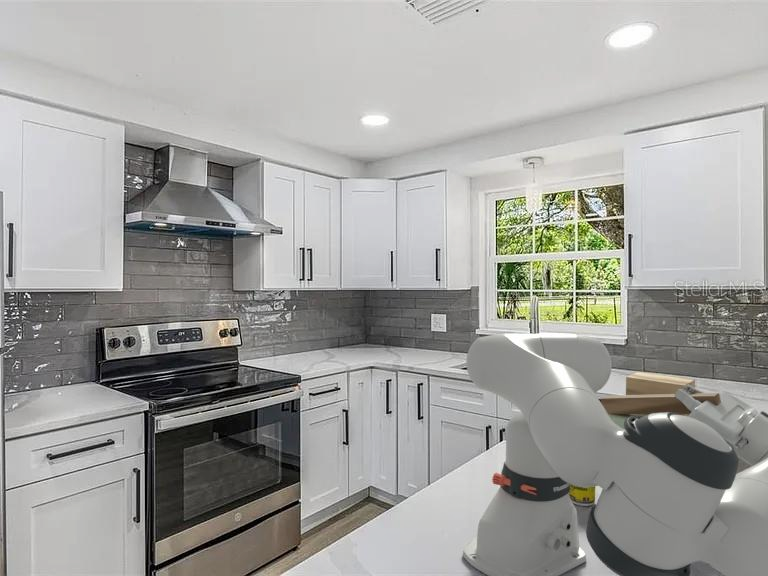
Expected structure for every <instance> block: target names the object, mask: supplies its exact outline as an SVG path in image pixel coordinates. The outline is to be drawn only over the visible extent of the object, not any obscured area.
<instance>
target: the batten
mask: <svg viewBox="0 0 768 576" xmlns="http://www.w3.org/2000/svg"><path fill="white" fill-rule="evenodd" d="M689 395H690V396H691V397H692V398H694V399H695V400H698V401H700V402H701V403H703V402H705V401H710V402H712V403H713V404H715V405H716V406H718V405H719V404H720V403H721V400H720V395H719V393H718V392H705V393H690V394H689ZM600 402H601V404H602V405H603V407H604V408H605V410H606V412H607V413H608V415H611V414H652V413H663V412H673V413H678V414H691V412H692V411H690V410H689V409H688V408H687V407H686V406H685V405H684V404H683V403H682V401H680V400H679V399H677V398H676V397H675V394H653V395H626V394H622V395H621V394H619V395H616V394H615V395H604V396H603V397H601V398H600Z"/></svg>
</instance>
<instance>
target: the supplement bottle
mask: <svg viewBox="0 0 768 576" xmlns="http://www.w3.org/2000/svg"><path fill="white" fill-rule="evenodd" d="M569 496H570V499H571V501H572V503H573V505H577V506H581V507H590V506H594V505H595V502H596V486H594V487H578V486H574V485H571V484H570V491H569Z"/></svg>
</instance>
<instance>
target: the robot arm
mask: <svg viewBox="0 0 768 576" xmlns="http://www.w3.org/2000/svg"><path fill="white" fill-rule="evenodd" d="M612 365H613V364H612V358H611V355H610V352H609V350H608V349H607V347H606V345H604V343H603V342H602V341H601V340H599V339H598V338H596V337H595V338H594V337H590V336H586V335H581V334H575V333H539V332H538V333H511V332H510V333H508V332H507V333H505V332H504V333H497V334H489V335H485V336H480V337H477V338H476V339H475V340H474V341H473V342H472V344H471V345H470V347H469V349H468V352H467V355H466V370H467V374H468V376H469V378H470V379H471V381H472V383H473V384H474V385H475V386H476V387H477V388H478V389H480V390H483V391H486V392H489V393H491V394H493V395H497V396H499V397H501V398H503V399H504V400H506V401H508V402H509V403H511V404H512V405H513V406H514V407H516V409H517V408H518V409H519V410H520V411H519V412H516V414H513V416H512V417H511V418H510V419H509V421H508V422H507V425H506V428H505V461H503V466H502V469H501V473H499V472H495V473H493V476H492V479H491V482H492V484H493V485H497V486H499V488H498V489H497V491H496V493H495V495H494V496H493V498H492V499H491V501H490V502H489V503H488V506H486V507H487V508H486V509H485V511H484V512H483V514H482V516H481V518H480V519H479V521H478V526H477V533H476V535H475V536H474V537H473V538H472V539H471V541H470V542H469V543H468V544H467V545H466V546H465V547H464V548H463V551H462V556H463V558H464V559H465V560H466V561H467V563H468V564H469V565H470V566H472V567H474V568H475V569H476V570H478V571H480V572H481V573H483V574H484V575H487V576H562V575H563V574H565V573H566V572H567V573H568V571H570V570H572V569H574V568H577V567H578V566H580V565H582V564H584V563H586V561H587V555H586V552H585V551H584V550H583V549H582V548H581V547H580V542H579V541H580V540H579V537H580V536H579V525H578V524H579V523H578V521H579V520H578V511H577V509H576V506H575V504H574V503H572V501H571V499H570V496H569V491H570V484H571V485H574V486H578V487H594V486H595V487H600V488H601V493H600V494H599V497H598V499H597V502H596V503H595V504H593V505H592V507H591V509H590V511H589V515H588V517H587V518H588V519H587V522H586V530H585V531H586V532H585V534H586V540H587V543H588V544H589V546H590V548H591V549H592V550H593V552H594V554H595V556H596V557H597V558H598V560H600V561H601V563H603V565H604V566H605V567H607V568H608V569H609V570H611V571H612V572H613V573H614V574H616V575H618V576H690V574H691V567H690V566H691V565H692V564H693V563H695V562H703V563H706V564H707V565H710V567H712V568H713V569H715V570H716V571H717V572H719V573H720V574H722V575H724V576H768V413H767V412H766V411H764V410H759V411H758V410H757V409H756V408H754V407H753V406H751V405H750V404H748V403H746V402H744V401H743V400H741V399H740V398H738V397H735V396H734V395H732V394H730V393H728V392H725V391H722V390H720V391H718V392H717V393H719V395H720V400H721V403H720V404H719V405H718V406H716V405H715V404H713V403H712V402H710V401H705V402H703V403H701V402H700V401H698V400H695V399H694V398H692V397H691V396H690V395H689V394H690V393H706V392H704V391H702V390H699V389H697V388H696V387H695V388H694V387H692V386H691V385H686V386H685V387H684V388H683V389H679V390H678V391H677V392H676V393H675V397H676V398H677V399H679V400H680V401H682V403H683V404H684V405H685V406H686V407H687V408H688V409H689V410H690V411H692V412H691V414H690V415H689V416H688V417H687V416H685V415H682V414H678V413H673V412H663V413H652V414H649V415H646V416H644V417H640V416H631V417H629V418H628V419H626V420H625V421H624V427H625V429H623V428H621V427H619V426H618V425H616V424H615V423H614V422H613V421H612V419H611V418H610V417H609V415H610V414H608V413H607V412H606V410H605V408H604V407H603V405H602V403H601V400H600V399H599V397H597V394H596V393H597V392H599V391H601V390H602V388H604V387H605V385H606V384H607V383H608V381H609V379H610V376H611V373H612V369H613V368H612V367H613V366H612ZM740 459H741V460H742V461H744V462H745V463H747V464H748V465H750V467H748V468H746V469H743V470H742V471H739V472H738V469H739V464H740V463H739V461H740Z"/></svg>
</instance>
